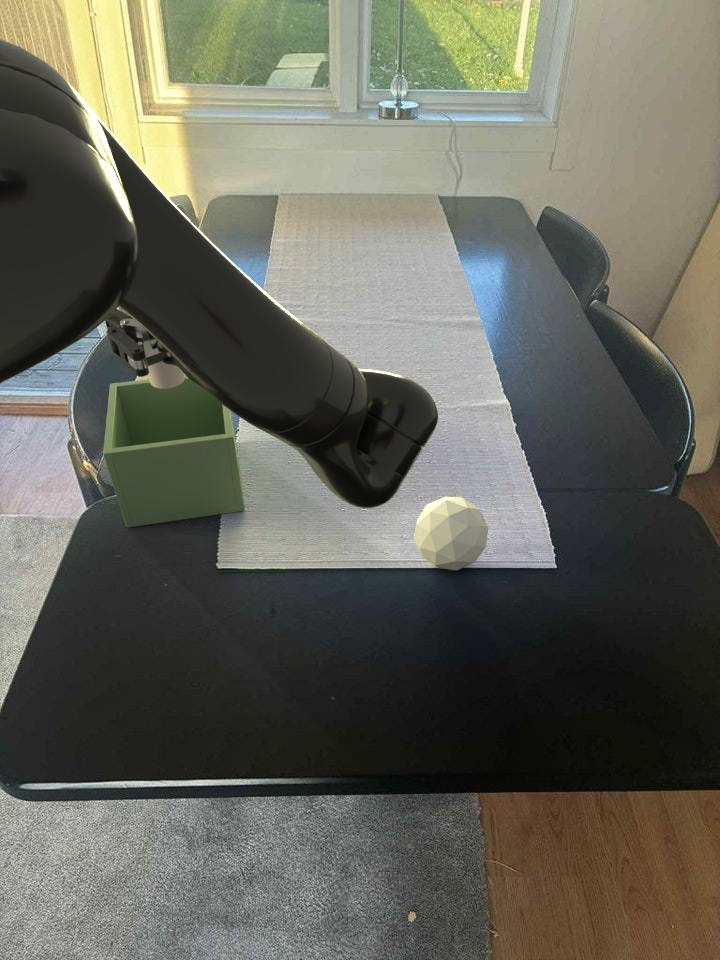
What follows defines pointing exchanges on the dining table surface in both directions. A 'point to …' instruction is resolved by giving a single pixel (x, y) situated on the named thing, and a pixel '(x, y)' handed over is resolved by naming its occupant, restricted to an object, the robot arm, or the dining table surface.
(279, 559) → the dining table surface
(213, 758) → the dining table surface
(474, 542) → the geometric ball
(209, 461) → the trash bin
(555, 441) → the dining table surface
